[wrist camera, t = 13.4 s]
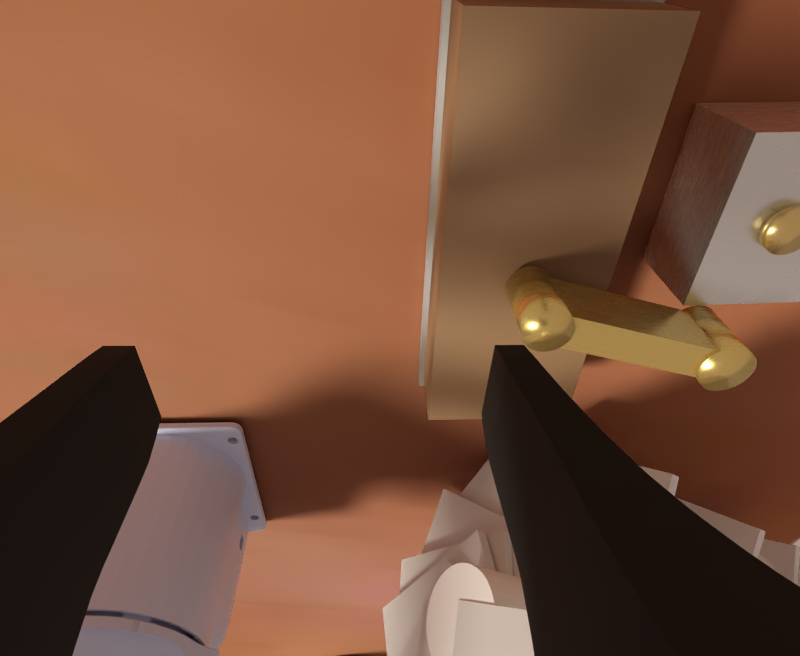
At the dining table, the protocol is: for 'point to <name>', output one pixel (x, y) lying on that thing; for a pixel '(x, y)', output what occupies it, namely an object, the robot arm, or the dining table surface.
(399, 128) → the dining table surface
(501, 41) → the tan flat board
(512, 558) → the spiral staircase
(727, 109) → the white block with knob
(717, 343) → the lever
